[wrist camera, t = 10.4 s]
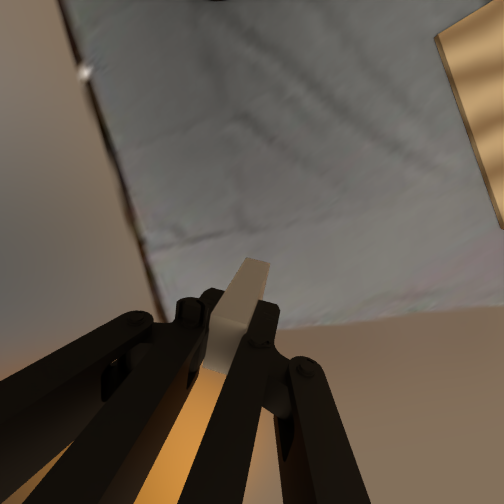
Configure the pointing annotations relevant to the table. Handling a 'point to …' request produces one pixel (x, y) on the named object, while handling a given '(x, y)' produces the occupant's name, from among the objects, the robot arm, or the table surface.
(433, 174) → the table surface
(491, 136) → the birch board
